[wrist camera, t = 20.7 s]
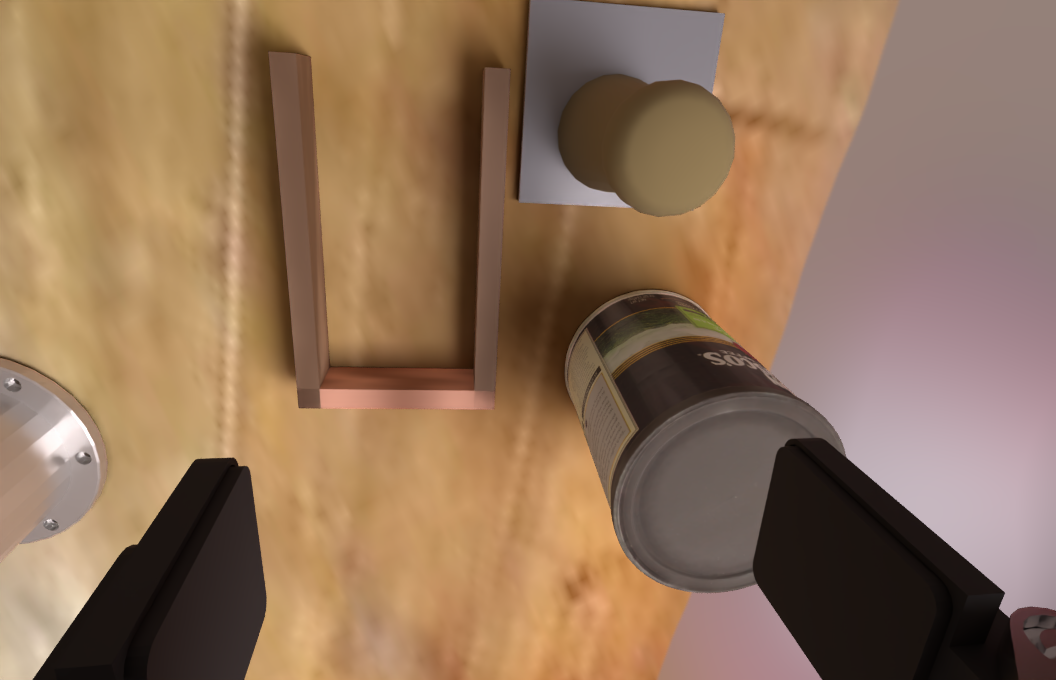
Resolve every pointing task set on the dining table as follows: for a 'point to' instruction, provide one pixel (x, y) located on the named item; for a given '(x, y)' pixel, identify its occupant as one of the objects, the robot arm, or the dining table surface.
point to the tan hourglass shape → (648, 142)
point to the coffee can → (682, 436)
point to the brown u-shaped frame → (307, 266)
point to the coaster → (590, 52)
